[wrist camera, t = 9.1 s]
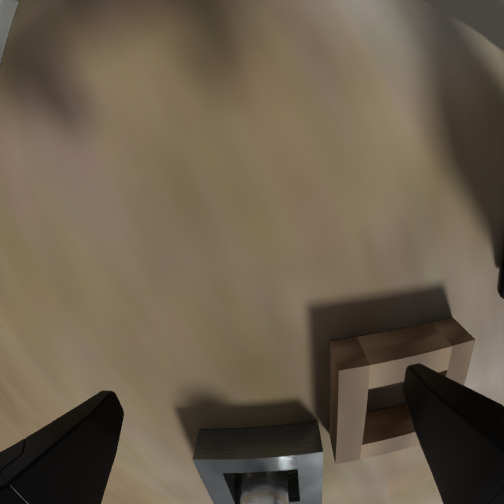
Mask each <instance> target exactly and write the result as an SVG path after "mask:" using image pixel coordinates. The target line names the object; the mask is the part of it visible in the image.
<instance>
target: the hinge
mask: <svg viewBox="0 0 504 504" xmlns="http://www.w3.org/2000/svg"><path fill="white" fill-rule="evenodd" d="M18 4H19V1H16V0H0V64H1V60H2V56H3V52H4V48H5V44H6V41H7V37H8V34H9V31H10V27H11V24H12V21H13V18H14V15H15V12H16V9H17V7H18Z"/></svg>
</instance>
